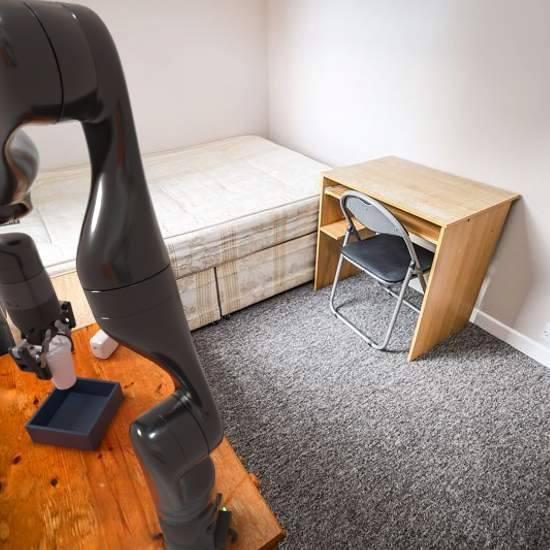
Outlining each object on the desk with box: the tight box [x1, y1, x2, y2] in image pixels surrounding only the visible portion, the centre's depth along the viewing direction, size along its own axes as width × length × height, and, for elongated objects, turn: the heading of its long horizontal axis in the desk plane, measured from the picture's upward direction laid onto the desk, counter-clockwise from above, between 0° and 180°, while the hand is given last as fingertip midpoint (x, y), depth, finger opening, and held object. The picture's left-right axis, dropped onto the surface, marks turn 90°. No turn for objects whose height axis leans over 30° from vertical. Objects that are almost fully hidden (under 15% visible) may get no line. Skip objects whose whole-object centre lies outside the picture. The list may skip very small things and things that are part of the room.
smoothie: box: [34, 335, 77, 389], centre depth 72 cm, size 6×6×14 cm
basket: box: [23, 376, 125, 452], centre depth 81 cm, size 13×13×5 cm
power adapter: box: [89, 329, 119, 360], centre depth 100 cm, size 11×5×6 cm, turn 164°
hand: (58, 364), depth 73 cm, fingers closed on smoothie, 6 cm apart
